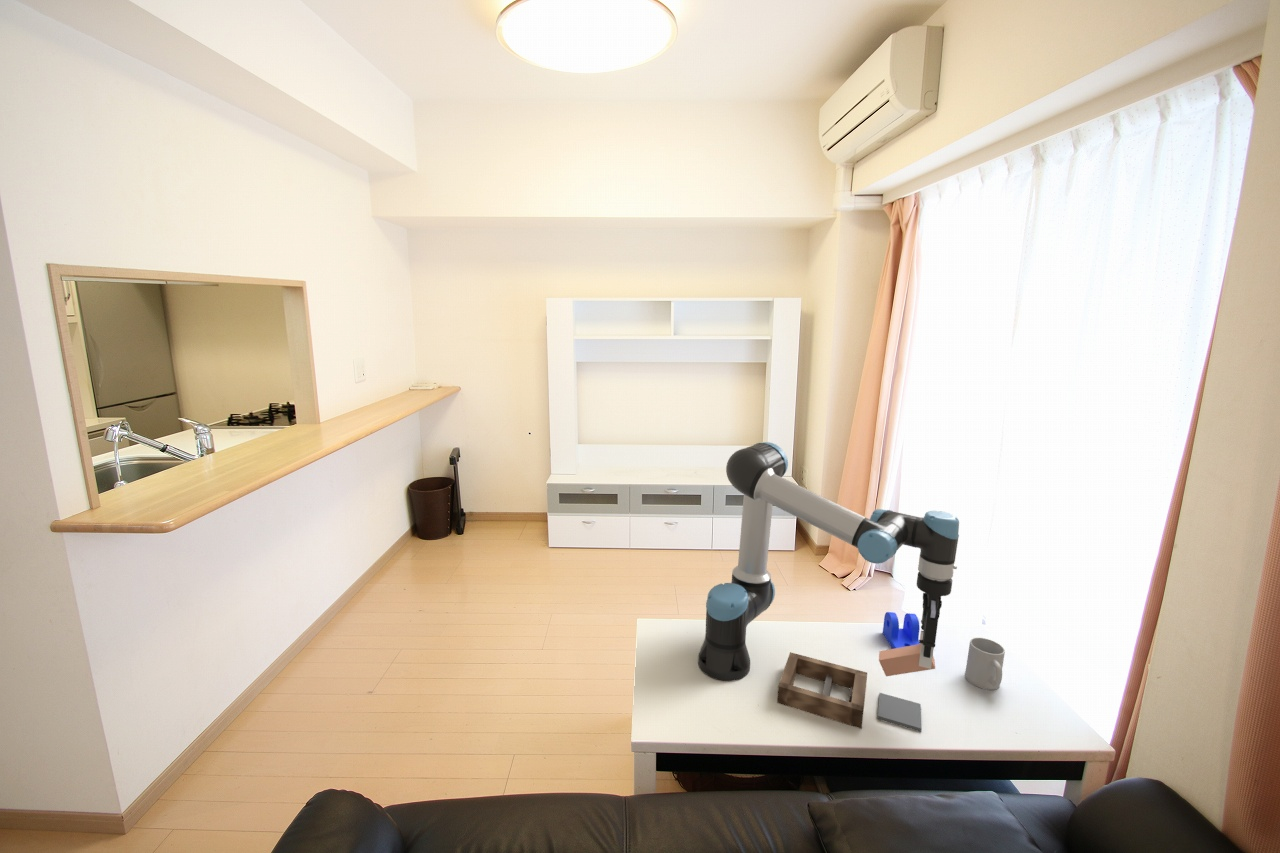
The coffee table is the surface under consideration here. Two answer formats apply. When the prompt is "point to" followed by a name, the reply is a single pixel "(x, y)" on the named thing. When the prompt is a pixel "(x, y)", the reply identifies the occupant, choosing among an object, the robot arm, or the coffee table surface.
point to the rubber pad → (899, 712)
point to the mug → (984, 663)
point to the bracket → (901, 630)
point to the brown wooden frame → (823, 702)
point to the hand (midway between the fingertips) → (924, 660)
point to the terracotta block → (902, 660)
